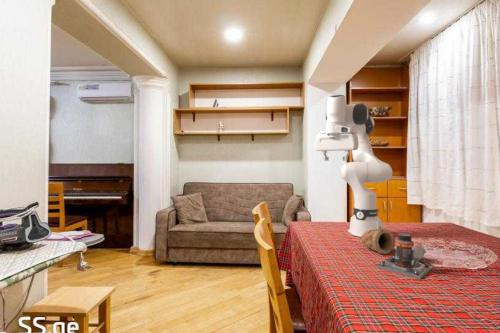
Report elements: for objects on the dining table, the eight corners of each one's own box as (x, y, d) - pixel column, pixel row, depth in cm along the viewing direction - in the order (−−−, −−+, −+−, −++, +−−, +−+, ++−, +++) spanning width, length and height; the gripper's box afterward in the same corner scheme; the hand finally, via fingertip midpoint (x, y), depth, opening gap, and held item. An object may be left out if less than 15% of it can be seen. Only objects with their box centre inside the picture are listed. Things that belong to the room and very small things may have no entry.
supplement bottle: (417, 267, 103) (418, 236, 103) (403, 268, 102) (404, 236, 102) (405, 262, 109) (406, 232, 109) (391, 263, 108) (392, 232, 108)
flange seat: (400, 254, 122) (400, 242, 122) (439, 262, 112) (439, 249, 112) (377, 267, 106) (377, 254, 106) (420, 279, 96) (420, 264, 96)
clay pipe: (355, 258, 127) (389, 256, 116) (349, 234, 129) (381, 229, 118) (374, 249, 140) (406, 246, 129) (368, 227, 142) (398, 222, 131)
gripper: (312, 131, 137) (312, 160, 137) (353, 128, 123) (353, 160, 123) (319, 132, 142) (319, 160, 142) (360, 129, 127) (359, 160, 127)
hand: (335, 160), depth 132 cm, fingers open, 8 cm apart
